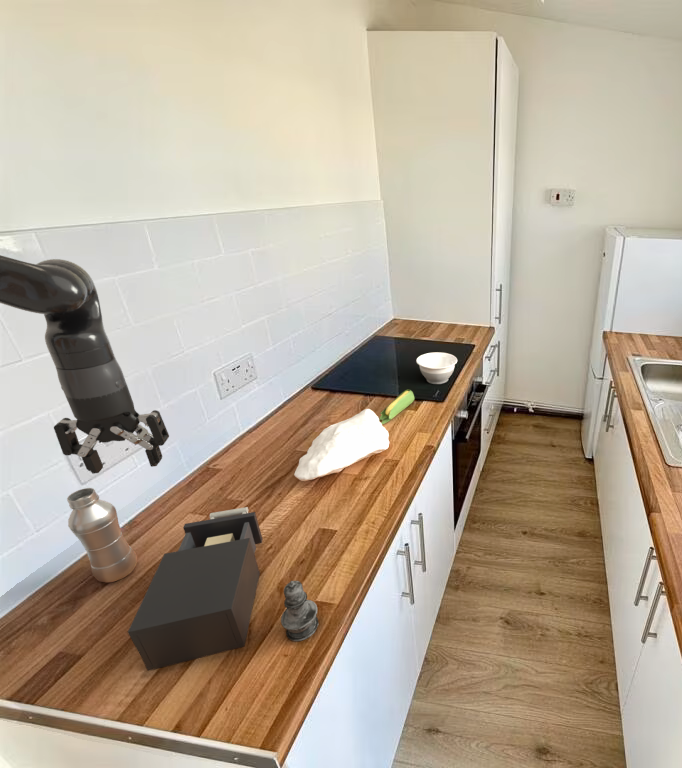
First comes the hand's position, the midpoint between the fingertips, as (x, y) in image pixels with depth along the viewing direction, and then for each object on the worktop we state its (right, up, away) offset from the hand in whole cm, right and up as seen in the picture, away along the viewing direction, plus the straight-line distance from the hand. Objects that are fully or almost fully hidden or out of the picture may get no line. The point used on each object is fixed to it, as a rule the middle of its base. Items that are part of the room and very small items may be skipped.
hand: (127, 467), depth 78 cm
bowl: (+39, +17, +96) cm, 105 cm away
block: (+11, -21, +10) cm, 25 cm away
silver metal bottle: (-9, -23, +8) cm, 26 cm away
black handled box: (+14, -28, +1) cm, 31 cm away
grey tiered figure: (+32, -29, 0) cm, 43 cm away
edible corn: (+30, +5, +71) cm, 77 cm away
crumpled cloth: (+22, -6, +47) cm, 52 cm away
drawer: (+10, -22, +11) cm, 26 cm away
